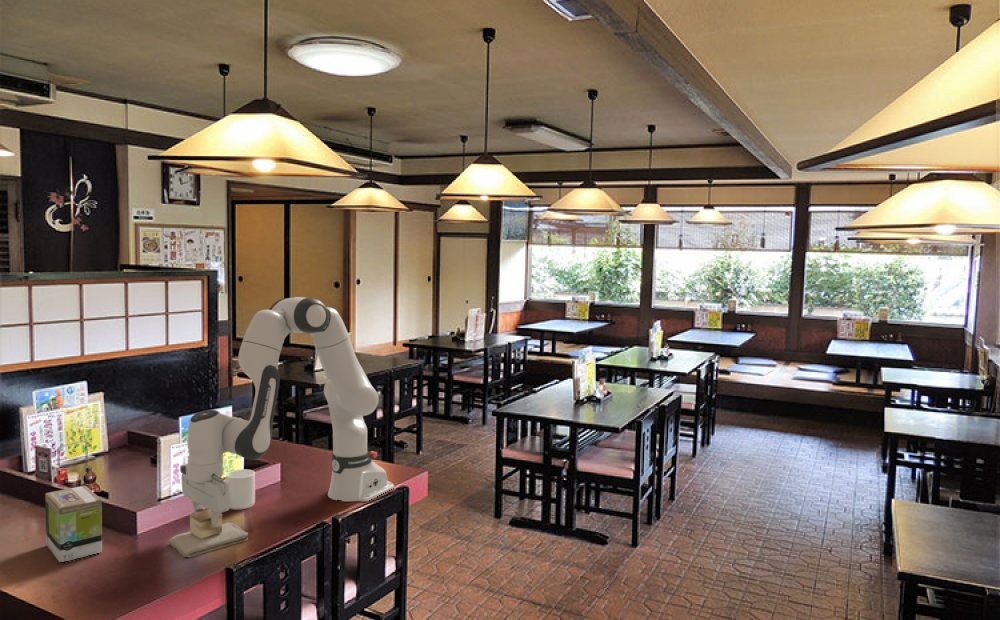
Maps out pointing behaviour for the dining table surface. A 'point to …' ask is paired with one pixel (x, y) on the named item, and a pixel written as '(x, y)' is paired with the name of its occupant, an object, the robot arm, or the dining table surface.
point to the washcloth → (208, 540)
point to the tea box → (73, 523)
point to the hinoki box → (204, 524)
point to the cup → (241, 488)
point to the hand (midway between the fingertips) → (206, 519)
